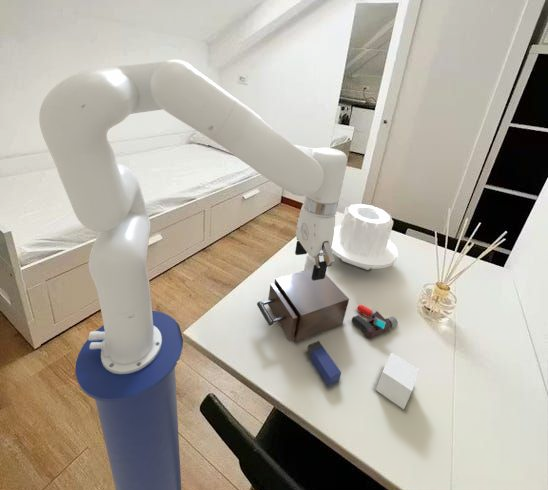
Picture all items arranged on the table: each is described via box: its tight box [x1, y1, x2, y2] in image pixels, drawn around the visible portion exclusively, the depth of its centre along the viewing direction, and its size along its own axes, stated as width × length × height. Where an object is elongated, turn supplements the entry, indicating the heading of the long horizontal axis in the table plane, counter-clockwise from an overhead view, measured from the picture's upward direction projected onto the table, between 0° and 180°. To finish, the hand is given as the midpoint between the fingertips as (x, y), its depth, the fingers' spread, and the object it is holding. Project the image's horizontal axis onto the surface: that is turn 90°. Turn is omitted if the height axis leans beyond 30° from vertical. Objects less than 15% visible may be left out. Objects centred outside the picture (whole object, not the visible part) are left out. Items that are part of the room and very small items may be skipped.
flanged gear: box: [331, 203, 399, 271], centre depth 103 cm, size 25×25×19 cm
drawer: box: [256, 282, 299, 341], centre depth 77 cm, size 18×12×7 cm
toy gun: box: [351, 304, 399, 339], centre depth 80 cm, size 10×12×5 cm
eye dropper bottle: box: [303, 253, 323, 271], centre depth 93 cm, size 4×6×12 cm
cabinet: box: [274, 269, 350, 343], centre depth 79 cm, size 15×14×9 cm
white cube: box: [375, 352, 420, 410], centre depth 63 cm, size 6×6×6 cm
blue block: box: [306, 340, 342, 388], centre depth 66 cm, size 8×3×3 cm, turn 27°
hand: (308, 265), depth 72 cm, fingers open, 9 cm apart
